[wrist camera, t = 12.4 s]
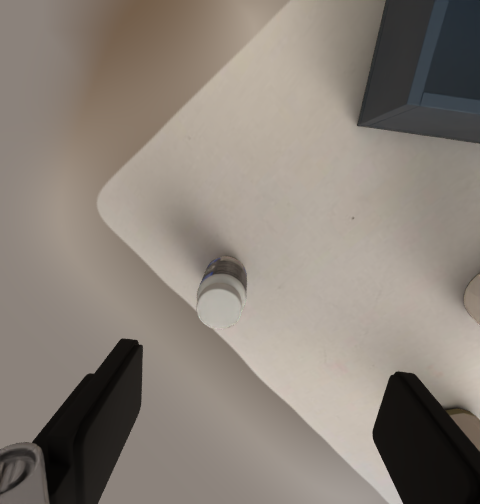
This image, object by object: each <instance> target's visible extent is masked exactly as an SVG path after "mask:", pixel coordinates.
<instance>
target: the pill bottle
mask: <svg viewBox="0 0 480 504" xmlns="http://www.w3.org/2000/svg"><path fill="white" fill-rule="evenodd" d="M246 288H247V275H246V270H245V268H244V266H243V265H242V263H241V262H240V261H238V260H237V259H235V258H232V257H228V256H224V257H219V258H217V259H215V260H213V261H212V262H211V263H210V264H209V266H208V267H207V269H206V272H205V274H204V276H203V279H202V281H201V283H200V286H199V288H198V291H197V306H196V310H197V314H198V317H199V319H200V320H201V321H202V322H203V323H204V324H205V325H206V326H208V327H210V328H213V329H226V328H229V327H231V326H233V325H234V324H235V323H236V322H237V321H238V320H239V318H240V316H241V313H242V310H243V308H244V306H245V303H246Z"/></svg>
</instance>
